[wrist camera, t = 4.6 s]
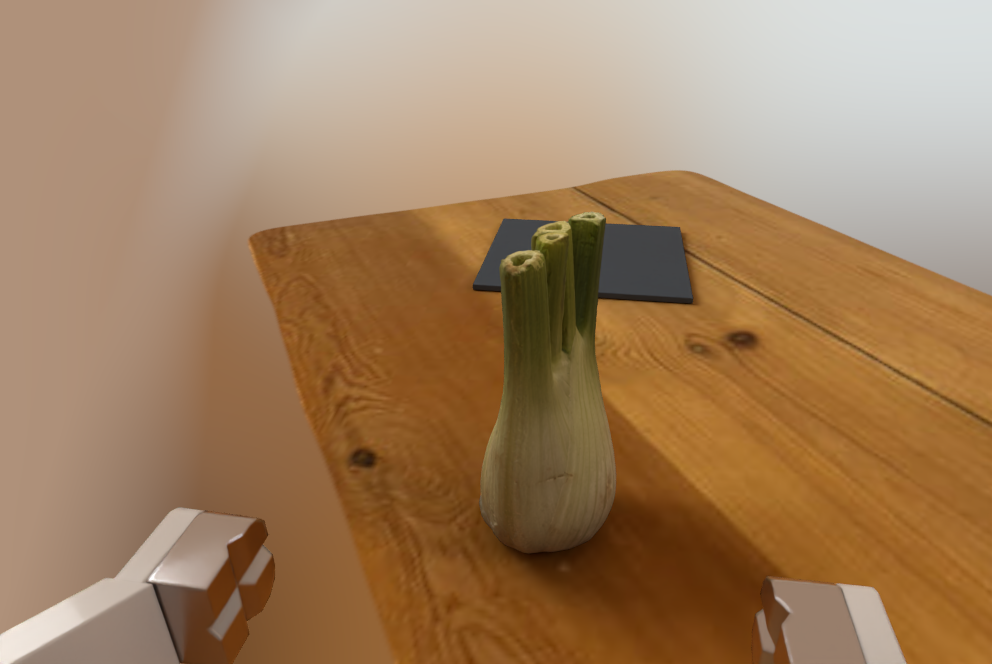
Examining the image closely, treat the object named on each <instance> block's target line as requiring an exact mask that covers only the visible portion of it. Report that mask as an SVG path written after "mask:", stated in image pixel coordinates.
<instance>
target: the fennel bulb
mask: <svg viewBox="0 0 992 664" xmlns="http://www.w3.org/2000/svg"><path fill="white" fill-rule="evenodd" d="M605 224H606V218H605V217H604V215H602V214H601V213H595V212H584V213H583V214H578V215H575V216H572V217H571V218H570V219H569V221H568V223H567V222H566V221H558V222H555V223H550V224H547V225H544V226H541V227H540V228H538V229H537V232H535V234H534V235H533V236H532V239H531V251H530V250H527V251H518V252H515V253H513V254H511V255H508V256H507V257H506V258H505V259H502V260H501V264H500V267H499V271H500V280H501V294H502V311H503V328H504V387H503V396H502V400H501V406H500V411H499V415H498V419H497V422H496V424H495V426H494V429H493V431H492V433H491V437H490V439H489V442H488V445H487V449H486V453H485V457H484V461H483V466H482V473H481V496H480V500H479V505H480V510H481V514H482V517H483V519H484V521H485V522H486V523H487V525H488V526H489V527H490V528H491V529H492V530H493V533H494V534H495V535H496V537H497V538H498V539H499V540H500V541H501V542H502V543H503V544H505V545H506V546H509V547H511V548H514V549H516V550H518V551H521V552H523V553H537V552H538V553H539V552H555V551H560V550H567V549H570V548H573V547H575V546H578V545H581V544H583V543H585V542H587V541H588V540H590V539H591V538H592V537H593V536H594V535H595V533H596V532H597V531H598V530H599V528H600V527H601V526H602V525H603V523H604V522H605V520H606V518H607V516H608V514H609V512H610V510H611V508H612V504H613V501H614V497H615V489H616V467H615V459H614V450H613V445H612V439H611V435H610V430H609V425H608V420H607V416H606V412H605V408H604V403H603V398H602V393H601V385H600V380H599V373H598V367H597V361H596V355H595V328H596V316H597V305H598V291H599V280H600V270H601V261H602V251H603V242H604V233H605Z"/></svg>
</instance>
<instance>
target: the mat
mask: <svg viewBox="0 0 992 664" xmlns="http://www.w3.org/2000/svg"><path fill="white" fill-rule="evenodd" d="M555 222H558V221H542V220H521V219H503V222H502V224H501V226H500V228H499V230H498V232H497V234H496V236H495V239H494V241H493V243H492V245H491V247H490V249H489V251H488V254H487V256H486V258H485V260H484V262H483V264H482V266H481V269H480V271H479V273H478V275H477V277H476V279H475V281H474V283H473V290H488V291H501V280H500V271H499V267H500V264H501V260H502V259H505V258H506V257H507V256H508V255H511V254H513V253H515V252H518V251H527V250H530V251H531V239H532V236H533V235H534V234H535V232H537V229H538V228H540V227H541V226H544V225H547V224H550V223H555ZM567 223H568V222H567ZM598 298H613V299H628V300H644V301H660V302H675V303H691V304H692V303H693V295H692V290H691V285H690V279H689V274H688V269H687V263H686V258H685V252H684V247H683V242H682V236H681V231H680V227H666V226H645V225H625V224H605V233H604V242H603V251H602V261H601V270H600V280H599V291H598Z"/></svg>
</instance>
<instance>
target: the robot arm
mask: <svg viewBox="0 0 992 664" xmlns="http://www.w3.org/2000/svg"><path fill="white" fill-rule="evenodd" d="M267 536H268V532H267V529H266V525H265V521H264V520H262V519H259V518H254V517H247V516H241V515H233V514H227V513H219V512H212V511H201V510H195V509H188V508H181V507H179V508H176V509H175V510H173V511H171V512H169V513H168V515H167V516H166V517H165V518H164V519H163V520H162V522H161V523H160V524H159V525H158V526H157V528H156V529H155V530H154V531H153V532H152V534H151V535H150V536H149V537H148V539H147V540H146V541H145V542H144V543H143V545H142V546H141V547H140V548H139V549H138V551H137V552H136V553H135V554H134V555H133V557H132V558H131V559H130V560H129V561H128V563H127V564H126V565H125V566H124V567H123V569H122V570H121V571H120V572H119V573H118V575H117V576H116V577H115V578H114V579H112V578H105V579H103V580H101V581H99V582H97V583H95V584H93V585H92V586H90V587H88V588H86V589H84V590H82V591H80V592H78V593H77V594H75V595H73V596H71V597H69V598H67V599H65V600H63V601H62V602H60V603H58V604H56V605H54V606H52V607H51V608H49V609H47V610H45V611H43V612H41V613H39V614H38V615H36V616H34V617H32V618H30V619H28V620H26V621H24V622H22V623H21V624H19V625H17V626H15V627H13V628H11V629H10V630H8V631H6V632H4V633H2V634H0V664H180V663H184V664H233V662H234V660H235V658H236V657H237V655H238V653H239V651H240V650H241V648H242V646H243V644H244V642H245V641H246V639H247V637H248V635H249V629H248V624H247V621H248V620H250V619H251V618H252V617H254V616H256V615H257V614H259V613H260V612H262V610H263V608H264V607H265V605H266V603H267V601H268V599H269V597H270V594H271V590H272V587H273V583H274V580H275V563H274V558H273V554H272V553H271V552H270V551H269V550H268V549H267V548H266V547H265V546H264V545H263V543H264V541H265V540H266V538H267ZM760 595H761V600H762V605H763V609H762V610H761V611H759V612H758V613H756V614H755V619H754V624H753V629H752V647H751V648H752V661H753V664H907V663H906V661H905V658H904V656H903V653H902V651H901V648H900V646H899V643H898V641H897V638H896V636H895V633H894V631H893V628H892V626H891V623H890V621H889V618H888V616H887V613H886V611H885V608H884V606H883V603H882V601H881V598H880V596H879V593H878V592H877V591H876V590H875V589H874V588H873V587H867V586H857V585H848V584H839V583H837V584H834V583H830V582H820V581H811V580H801V579H792V578H782V577H773V576H767V577H766V578H765V580H764V581H763V585H762V589H761V593H760Z"/></svg>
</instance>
